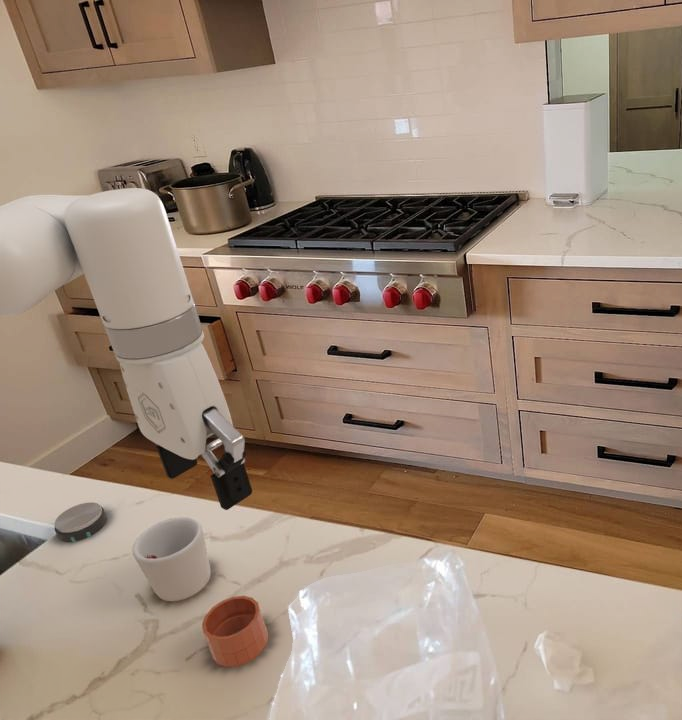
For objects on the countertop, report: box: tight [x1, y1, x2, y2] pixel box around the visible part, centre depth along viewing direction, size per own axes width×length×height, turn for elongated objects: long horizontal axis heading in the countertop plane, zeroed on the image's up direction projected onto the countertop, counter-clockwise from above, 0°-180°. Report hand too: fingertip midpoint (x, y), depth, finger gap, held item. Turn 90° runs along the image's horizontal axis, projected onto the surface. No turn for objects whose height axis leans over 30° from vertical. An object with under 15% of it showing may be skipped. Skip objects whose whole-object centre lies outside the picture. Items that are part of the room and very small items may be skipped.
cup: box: [132, 516, 211, 602], centre depth 85 cm, size 11×8×8 cm
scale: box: [54, 502, 108, 543], centre depth 97 cm, size 6×6×3 cm
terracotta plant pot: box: [201, 595, 269, 668], centre depth 75 cm, size 6×6×5 cm
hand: (209, 485), depth 68 cm, fingers open, 9 cm apart
